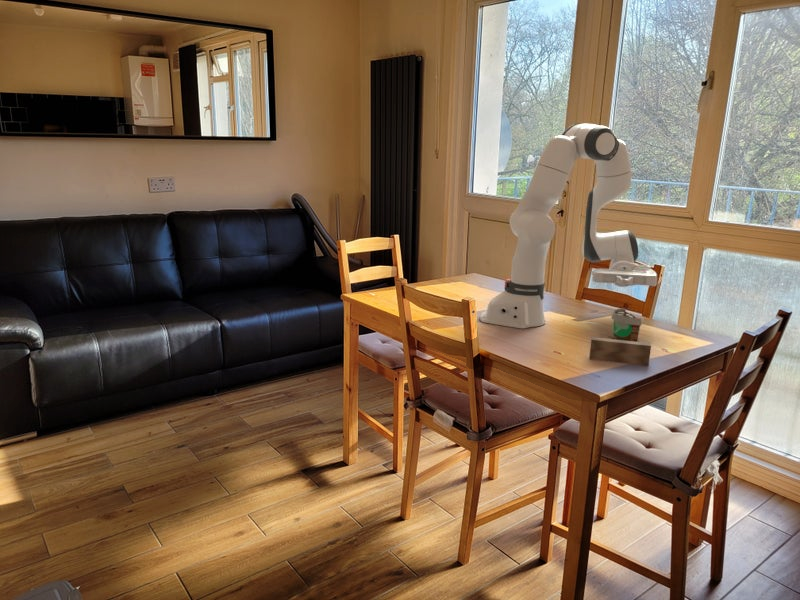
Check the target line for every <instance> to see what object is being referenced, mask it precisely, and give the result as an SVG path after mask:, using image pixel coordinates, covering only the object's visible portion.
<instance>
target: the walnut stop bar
mask: <svg viewBox="0 0 800 600" xmlns="http://www.w3.org/2000/svg"><path fill="white" fill-rule="evenodd" d="M589 350H590V351H589V360H592V361H602V362H611V363H618V364H629V365H636V366H645V367H649V366H650V358H651V350H652V344H651V343H650V342H642V341H637V342H634V341H624V340H615V339H613V338H604V337H594V336H591V338H590V347H589Z"/></svg>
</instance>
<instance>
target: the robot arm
mask: <svg viewBox="0 0 800 600" xmlns="http://www.w3.org/2000/svg"><path fill="white" fill-rule="evenodd" d="M579 158H581V159H585V160H593V161H594V164H595V171H596V182H595V185H594V187H593V189H591V190H589V193H588V195H587V201H586V202H587V203H586V210H585V220H584V221H585V222H584V233H583V234H584V236H583V240H582V244H581V251H582V256H583V258H584V259H586V260H587V261H588V262H590V263H597V262H602V261H607V260H610V263H609V268H595V269H594V270H593V271H591V276H592V279H591V280H592V282H594V283H597V284H598V283H600V284H601V283H602V284H614V286H617V287H622V288H626V287H632V286H644V287H645V286H646V287H647V286H648V287H656V286H657V284H658V274H657V272H656V271H655V270H653V268H652V266H651V265H646V264H641V263H636V260H637V259H638V257H639V244H638V241H637V237H636V235H635V234H634V233H633V232H631V230H628V229H627V230H626V229H625V230H618V231H617V230H616V231H615V230H614V231H612V232H611V231H610V232H603V233H598V232H597V225H598V215H599V212H600V211H601V209H602V208H604V207H605V206H607V205H609V204H610V203H612V202H614V201H616V200H618V199H621V197H623V196H624V195H625V194H626V193H627V192H628V191H629V190H630V188H631V186H632V167H631V160H630V155H629V150H628V147H627V144H626V143H625V142H624V141H623V140H622V139H619V138H618V137H617V134H616V133H615V131H614V130H612V129H611V128H610V127H608V126H606V125H599V124H594V123H575V124H571V125H570V126H568V127H567V128H566V129H564V131H563V132H562V133H561V134H560V135H554V136H553V137H551V138H550V139H549V141H548V142H547V144H546V145H545V146H544V149H543V151H542V152H541V155H540V157H539V159H538V161H537V164H536V166H535V169H534V172H533V173H532V176H531V179H530V182H529V184H528V186H527V189H526V190H525V192H524V194H523V196H522V198H521V199H520V201H519V202H518V205H517V206H516V208H515V210H514V211H513V212H512V213H511V215H510V217H509V226H510V229H511V231H512V233H513V235H514V236H516V237H517V244H516V248H515V252H514V255H513V257H512V258H511V259H512V260H511V273H510V274H511V275H510V278H506V280H505V281H504V290H503V291H502V292H500V293H499V294H497V295H495V296H494V297H493V298H491V299H490V300H489V302H488V304H487V307H486V310H485V311H484V310H483V312H482V313H480V315H479V316H480V317H479V320H480V321H481V322H482V323H485V324H491V325H497V326H504V327H510V328H516V329H527V328H534V327H539V326H543V325H545V324H546V319H545V312H544V298H545V295H546V294H545V292H546V291H545V290H546V284H545V272H546V271H545V270H546V263H547V262H546V260H547V257H548V252H549V250H550V249H549V248H550V245H551V241H552V240H553V238H554V236H555V233H556V224H555V222H554V221H553V219H552V218H551V216H550V215H549V214H550V212H551V210H552V209H553V207H554V206H555V204H556V203H558V201H559V200H560V199H561V197H562V195H563V192H564V191H565V190H564V189H565V187H566V185H567V181H569V177H570V174H571V173H572V169H573V166H574V164H575V163H576V161H577V160H578V159H579Z"/></svg>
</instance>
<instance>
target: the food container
mask: <svg viewBox="0 0 800 600" xmlns="http://www.w3.org/2000/svg"><path fill="white" fill-rule="evenodd" d="M610 318H611V319H612V321H613V323H612V339H615V340H624V341H634V342H638V341H639V340H638V339H639V334H640V327H641V326H642V318H641V317H640V318H639V317H636V316H634V315H633V314H632V313H628V312H627V311H626V307H622V308H616V309H614V310H613V312H612V314H611V317H610Z"/></svg>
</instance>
